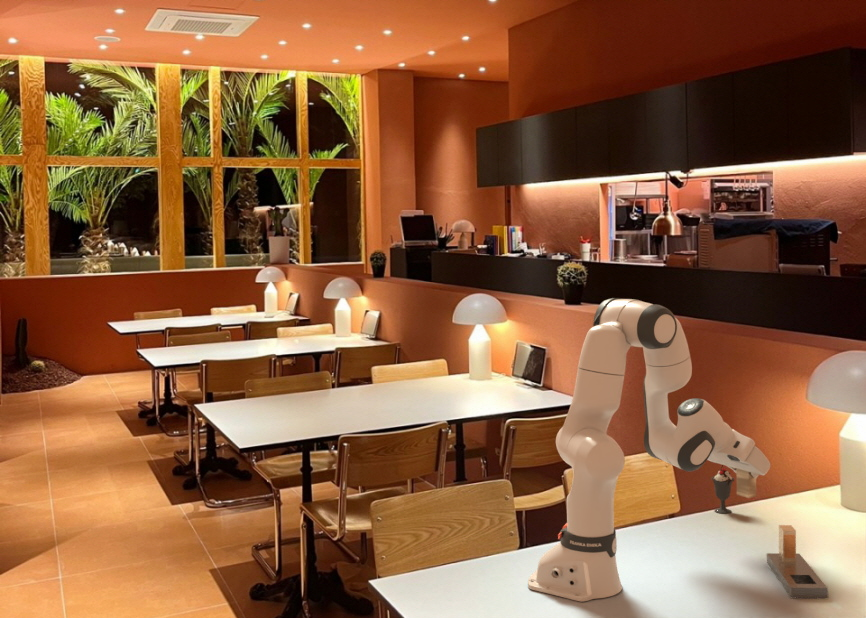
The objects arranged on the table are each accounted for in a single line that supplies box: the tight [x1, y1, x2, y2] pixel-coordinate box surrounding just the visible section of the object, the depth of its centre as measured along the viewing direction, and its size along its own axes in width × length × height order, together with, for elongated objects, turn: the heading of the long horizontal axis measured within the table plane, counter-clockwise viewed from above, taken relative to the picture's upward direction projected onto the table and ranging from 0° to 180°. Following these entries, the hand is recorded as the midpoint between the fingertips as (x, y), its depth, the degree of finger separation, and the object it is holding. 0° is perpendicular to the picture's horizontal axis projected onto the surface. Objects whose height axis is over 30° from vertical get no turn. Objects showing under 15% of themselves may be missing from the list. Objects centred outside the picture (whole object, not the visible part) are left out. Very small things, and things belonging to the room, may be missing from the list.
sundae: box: [710, 464, 735, 515], centre depth 267 cm, size 7×7×15 cm
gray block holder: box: [766, 524, 829, 599], centre depth 213 cm, size 8×22×10 cm, turn 173°
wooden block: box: [736, 468, 757, 499], centre depth 238 cm, size 3×4×10 cm
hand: (747, 473), depth 238 cm, fingers closed on wooden block, 4 cm apart
